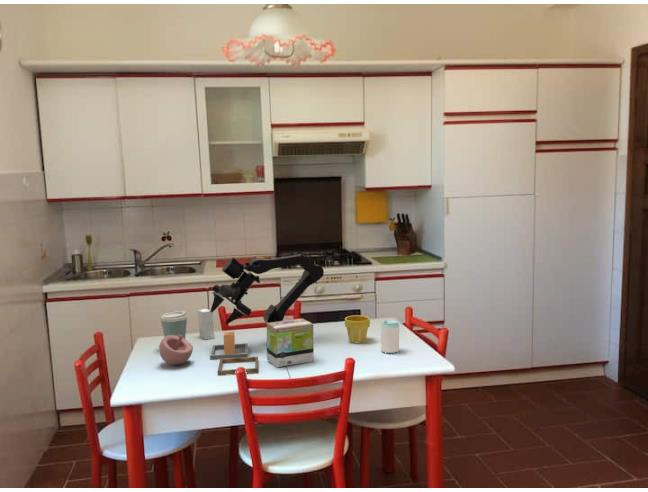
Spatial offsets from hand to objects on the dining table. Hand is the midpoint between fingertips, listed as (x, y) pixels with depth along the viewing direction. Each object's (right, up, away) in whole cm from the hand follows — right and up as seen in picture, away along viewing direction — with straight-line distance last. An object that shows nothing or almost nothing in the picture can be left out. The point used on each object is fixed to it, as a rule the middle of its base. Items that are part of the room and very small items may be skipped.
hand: (218, 317), depth 229 cm
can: (+67, -13, -3) cm, 69 cm away
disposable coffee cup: (-18, -14, +5) cm, 23 cm away
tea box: (+29, -15, -13) cm, 35 cm away
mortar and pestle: (-13, -16, -13) cm, 24 cm away
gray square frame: (+5, -14, -1) cm, 15 cm away
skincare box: (-9, -11, +21) cm, 26 cm away
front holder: (+11, -16, -19) cm, 27 cm away
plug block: (+5, -14, -1) cm, 15 cm away
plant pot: (+56, -11, +11) cm, 58 cm away
